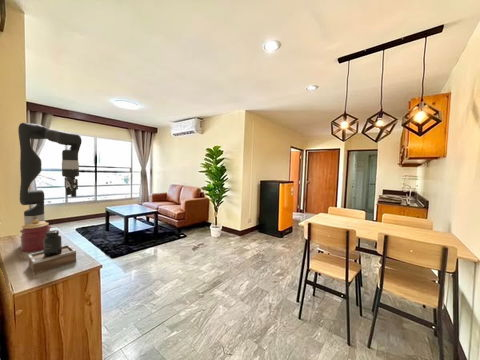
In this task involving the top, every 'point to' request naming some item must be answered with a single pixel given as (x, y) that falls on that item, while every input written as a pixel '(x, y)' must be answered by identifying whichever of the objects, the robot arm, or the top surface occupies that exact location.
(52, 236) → the supplement bottle
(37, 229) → the canister
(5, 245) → the top surface
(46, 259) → the open rectangular tray
